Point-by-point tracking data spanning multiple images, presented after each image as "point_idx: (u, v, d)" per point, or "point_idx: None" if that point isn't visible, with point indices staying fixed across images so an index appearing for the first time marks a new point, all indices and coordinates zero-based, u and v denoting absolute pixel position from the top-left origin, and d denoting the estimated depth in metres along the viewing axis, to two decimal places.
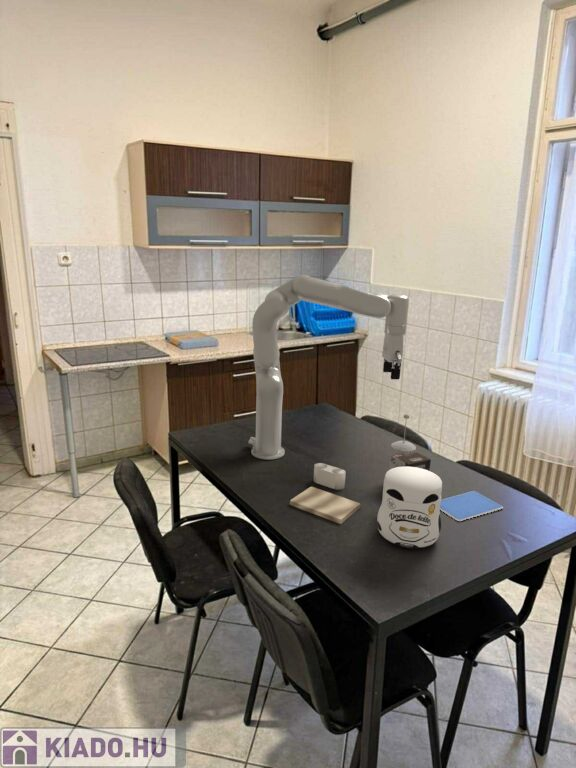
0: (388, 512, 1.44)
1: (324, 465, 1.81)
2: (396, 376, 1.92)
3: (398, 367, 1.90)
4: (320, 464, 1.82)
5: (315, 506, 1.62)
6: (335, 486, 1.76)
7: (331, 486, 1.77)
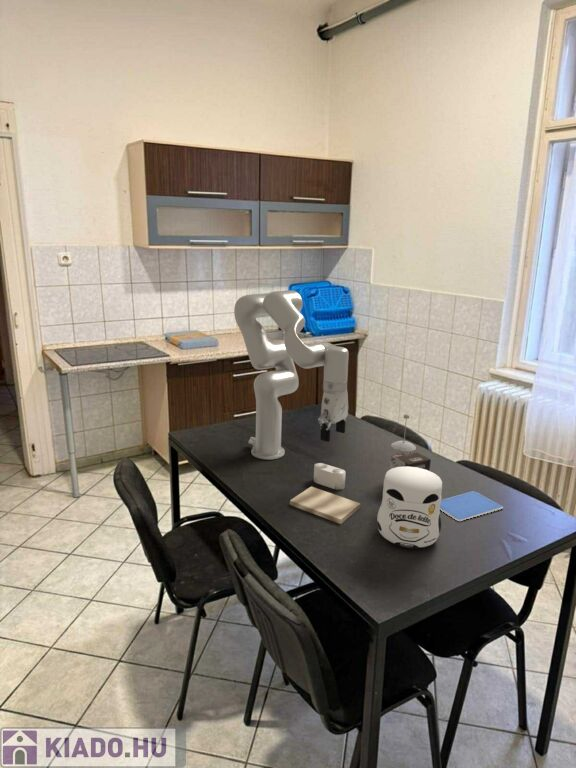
0: (388, 512, 1.44)
1: (324, 465, 1.81)
2: None
3: None
4: (320, 464, 1.82)
5: (315, 506, 1.62)
6: (335, 486, 1.76)
7: (331, 486, 1.77)
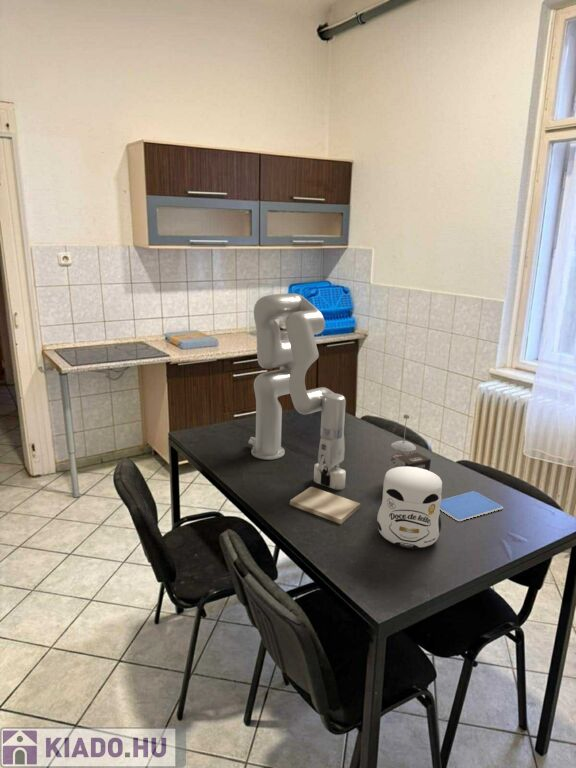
0: (388, 512, 1.44)
1: None
2: None
3: None
4: None
5: (315, 506, 1.62)
6: (335, 486, 1.76)
7: (331, 486, 1.77)
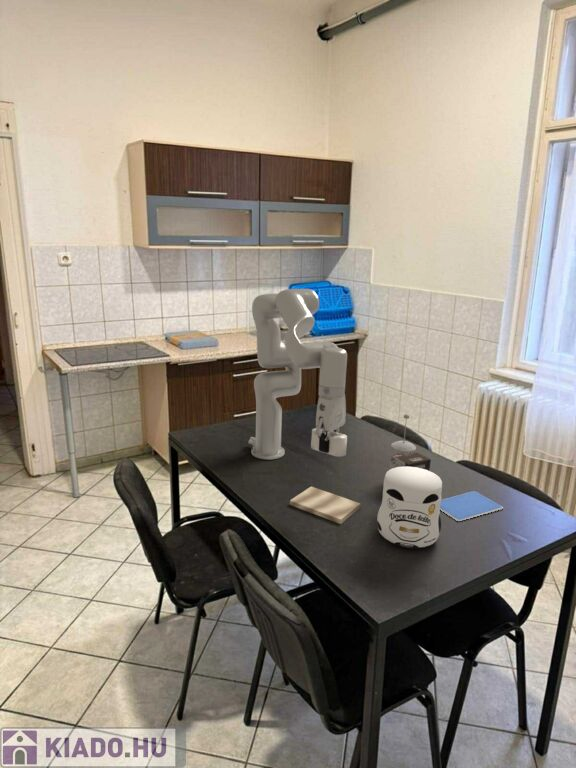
0: (388, 512, 1.44)
1: None
2: None
3: None
4: None
5: (315, 506, 1.62)
6: (335, 452, 1.56)
7: (331, 453, 1.57)
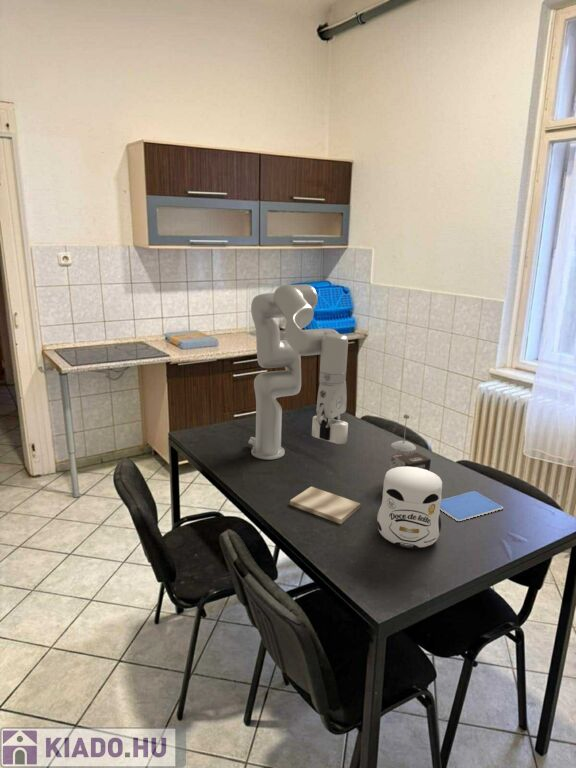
0: (388, 512, 1.44)
1: None
2: None
3: None
4: None
5: (315, 506, 1.62)
6: (336, 440, 1.55)
7: (332, 440, 1.56)
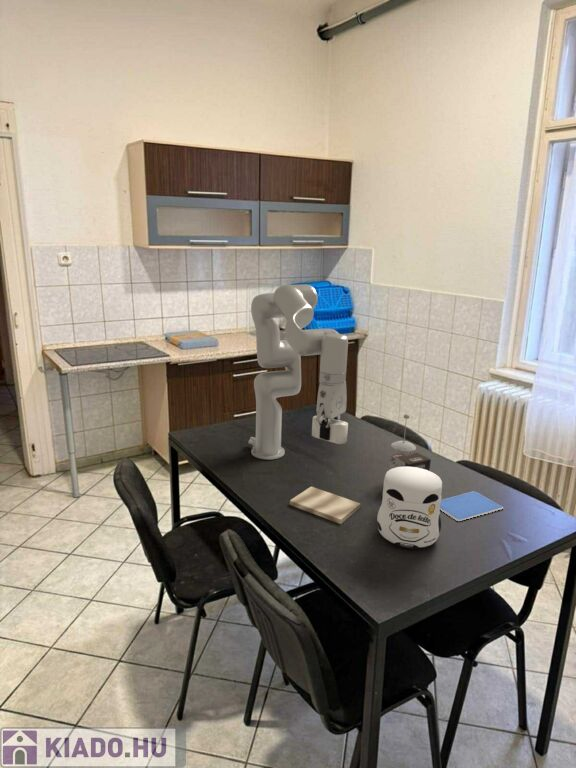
0: (388, 512, 1.44)
1: None
2: None
3: None
4: None
5: (315, 506, 1.62)
6: (336, 440, 1.55)
7: (332, 440, 1.56)
